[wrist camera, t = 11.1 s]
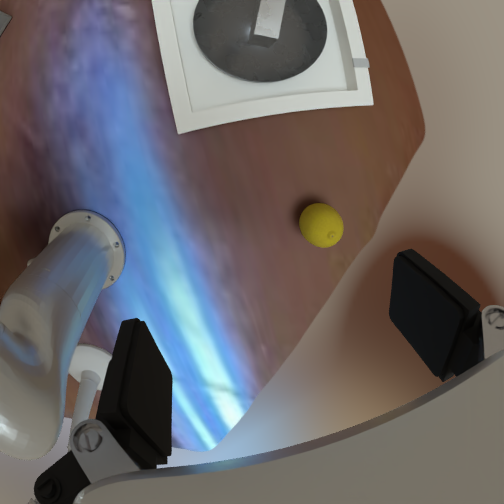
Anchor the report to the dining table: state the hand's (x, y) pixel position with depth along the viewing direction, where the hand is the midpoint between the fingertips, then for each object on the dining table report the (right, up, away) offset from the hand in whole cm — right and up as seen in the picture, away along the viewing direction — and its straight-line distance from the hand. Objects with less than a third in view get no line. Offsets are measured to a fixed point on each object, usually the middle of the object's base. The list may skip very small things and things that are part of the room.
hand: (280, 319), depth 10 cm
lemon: (+7, +8, +32) cm, 34 cm away
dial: (0, +29, +17) cm, 34 cm away
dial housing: (0, +30, +19) cm, 36 cm away
